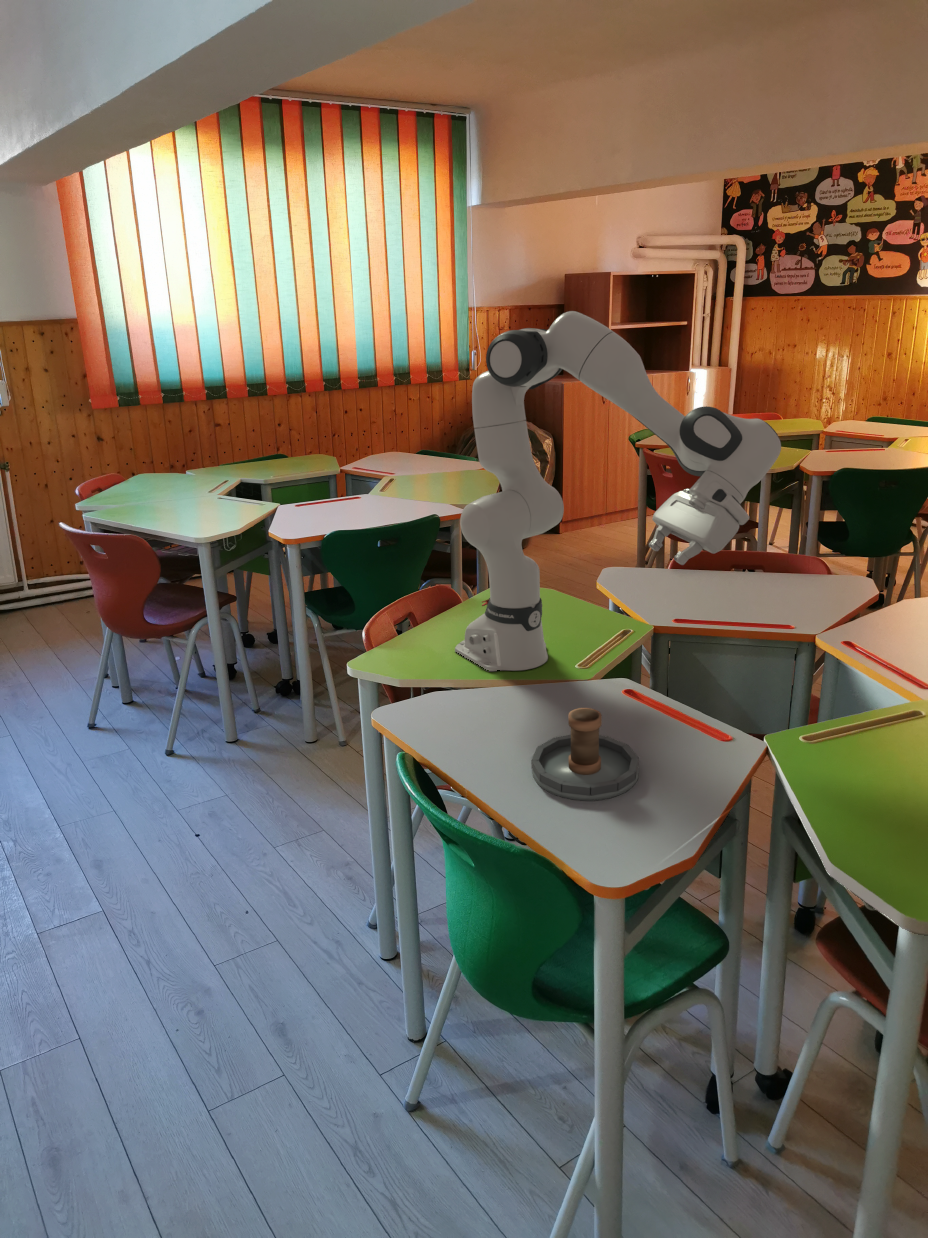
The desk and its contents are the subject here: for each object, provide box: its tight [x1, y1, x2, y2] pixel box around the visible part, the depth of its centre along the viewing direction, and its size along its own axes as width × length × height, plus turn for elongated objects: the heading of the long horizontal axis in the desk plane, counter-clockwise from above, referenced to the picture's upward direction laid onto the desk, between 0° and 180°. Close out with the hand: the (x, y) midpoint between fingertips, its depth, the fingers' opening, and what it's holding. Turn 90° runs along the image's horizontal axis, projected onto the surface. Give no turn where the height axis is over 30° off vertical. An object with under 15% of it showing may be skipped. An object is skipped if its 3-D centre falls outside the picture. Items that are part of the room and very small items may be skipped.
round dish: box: [531, 734, 640, 802], centre depth 154 cm, size 18×18×2 cm
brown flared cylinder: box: [567, 707, 603, 775], centre depth 153 cm, size 6×6×10 cm
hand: (664, 555), depth 166 cm, fingers open, 8 cm apart
